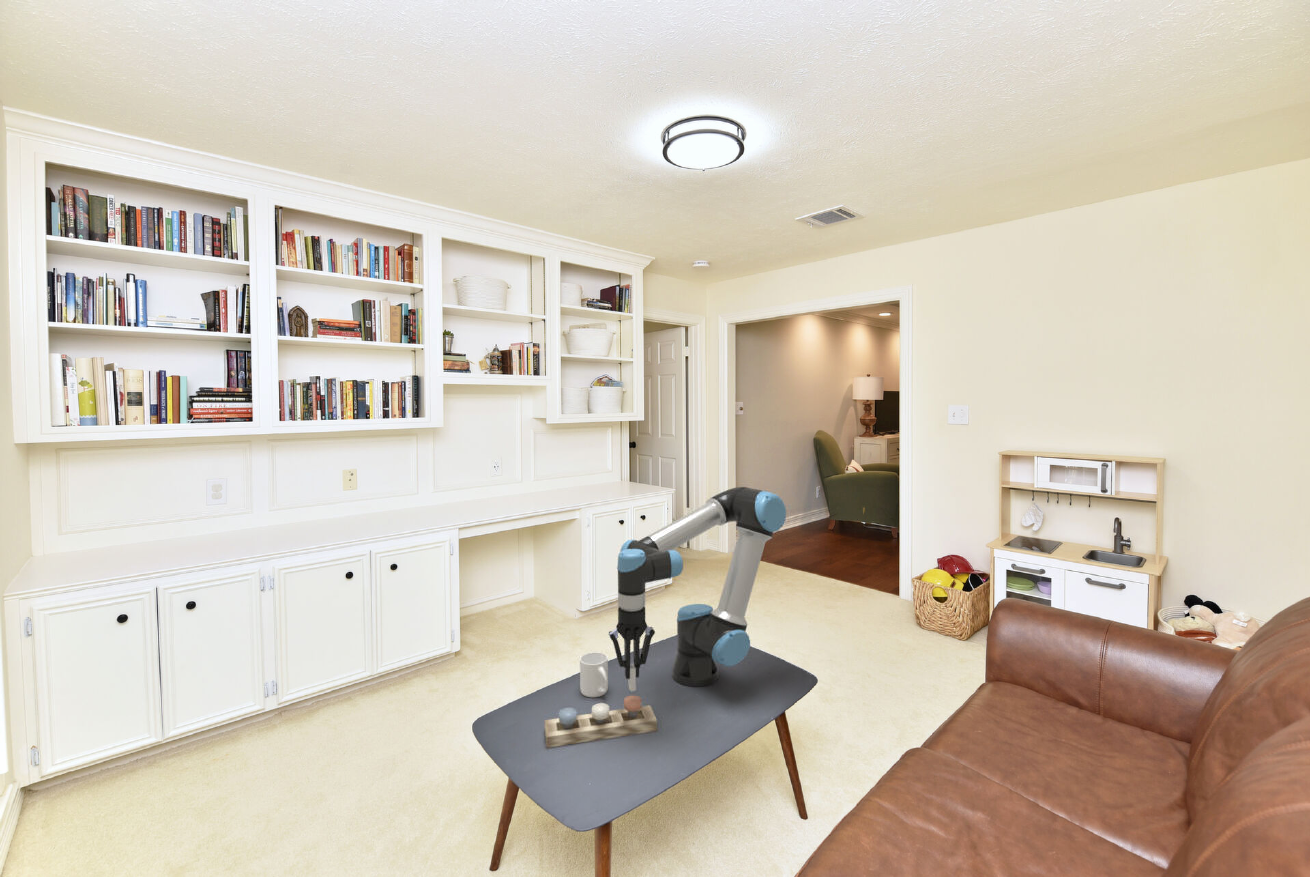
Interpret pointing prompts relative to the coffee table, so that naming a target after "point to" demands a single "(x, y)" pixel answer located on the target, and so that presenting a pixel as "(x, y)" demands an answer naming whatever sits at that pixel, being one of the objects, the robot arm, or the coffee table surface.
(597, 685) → the mug
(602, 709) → the cream rounded piece
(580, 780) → the coffee table surface
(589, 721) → the three-ball wooden rack
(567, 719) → the slate ball
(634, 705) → the terracotta ball
